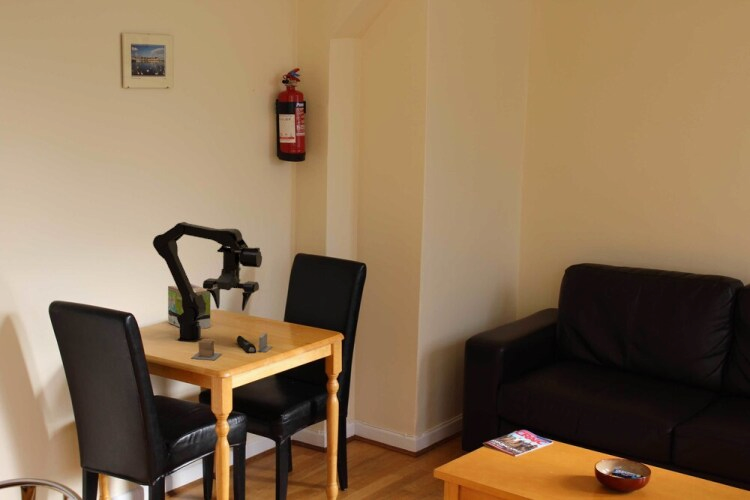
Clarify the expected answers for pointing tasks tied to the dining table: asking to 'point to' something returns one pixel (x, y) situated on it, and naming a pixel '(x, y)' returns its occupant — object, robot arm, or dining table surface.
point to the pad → (207, 357)
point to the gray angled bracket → (263, 343)
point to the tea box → (176, 305)
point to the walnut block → (206, 348)
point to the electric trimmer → (246, 345)
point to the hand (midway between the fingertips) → (230, 309)
